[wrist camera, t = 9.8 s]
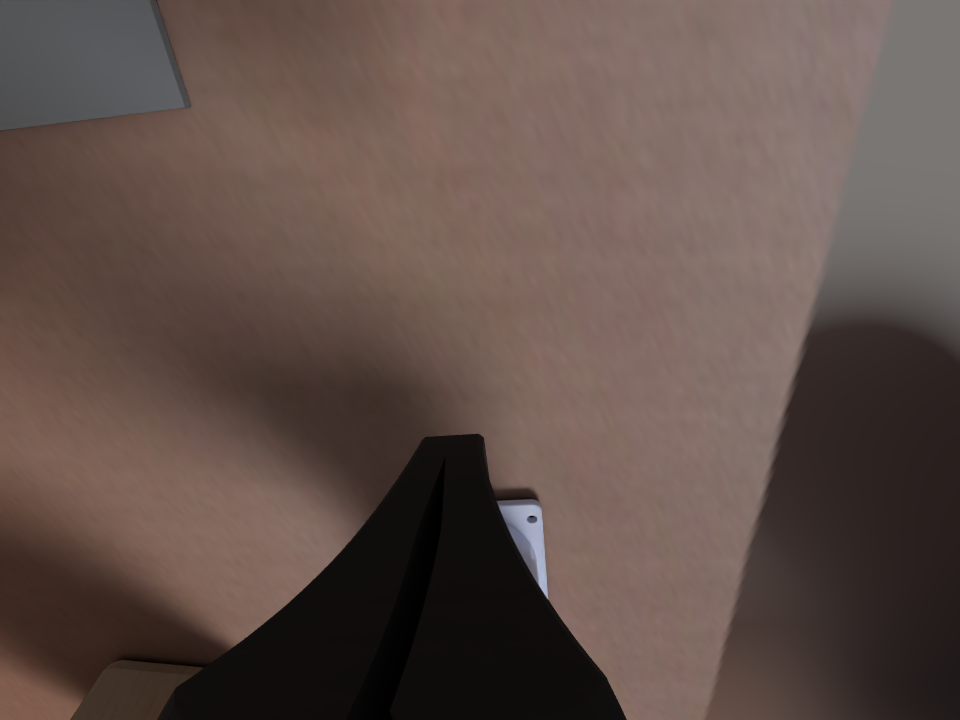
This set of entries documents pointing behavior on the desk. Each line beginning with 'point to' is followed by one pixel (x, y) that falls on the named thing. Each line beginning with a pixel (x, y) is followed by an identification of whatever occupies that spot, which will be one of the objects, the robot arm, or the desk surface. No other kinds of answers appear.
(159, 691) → the block
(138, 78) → the mat
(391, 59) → the desk surface
